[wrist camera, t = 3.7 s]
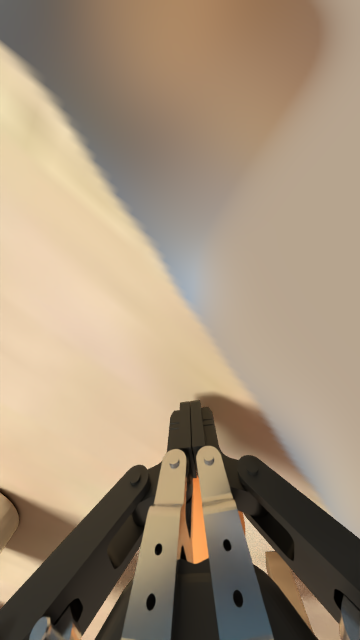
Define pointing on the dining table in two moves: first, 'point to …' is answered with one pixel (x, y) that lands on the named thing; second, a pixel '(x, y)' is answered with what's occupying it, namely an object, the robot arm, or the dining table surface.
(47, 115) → the dining table surface
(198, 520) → the ball
